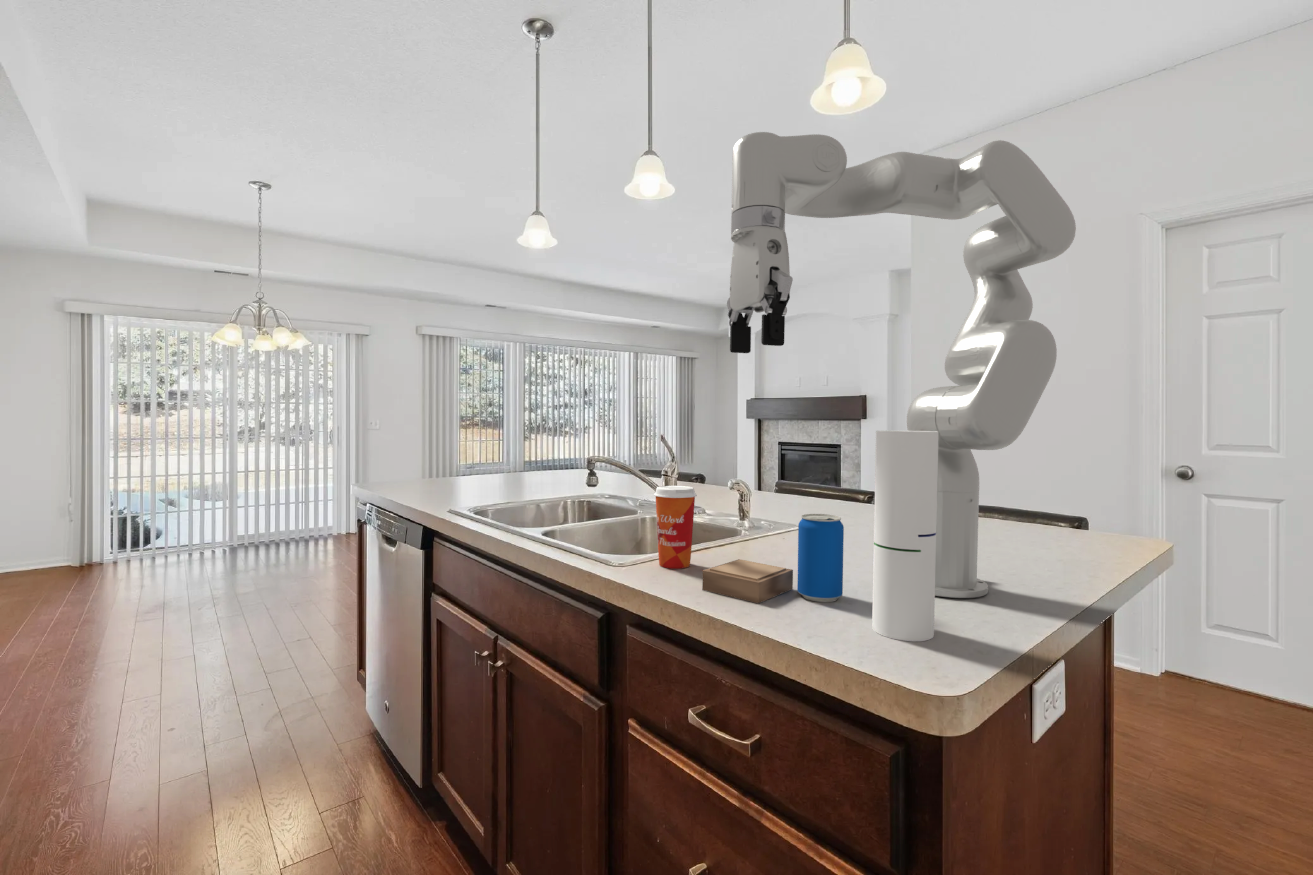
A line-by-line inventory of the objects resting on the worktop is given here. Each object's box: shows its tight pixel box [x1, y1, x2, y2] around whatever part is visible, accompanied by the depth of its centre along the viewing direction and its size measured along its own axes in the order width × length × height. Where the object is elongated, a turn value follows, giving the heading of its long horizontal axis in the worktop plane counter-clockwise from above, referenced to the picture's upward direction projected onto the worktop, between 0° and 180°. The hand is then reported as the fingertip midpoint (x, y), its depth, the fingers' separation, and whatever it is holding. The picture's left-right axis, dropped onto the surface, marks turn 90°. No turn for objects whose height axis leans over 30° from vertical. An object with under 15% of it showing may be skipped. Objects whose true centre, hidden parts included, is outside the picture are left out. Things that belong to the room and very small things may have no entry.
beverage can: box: [797, 513, 845, 603], centre depth 88 cm, size 6×6×12 cm
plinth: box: [701, 559, 794, 604], centre depth 92 cm, size 10×10×3 cm
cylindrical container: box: [871, 430, 938, 642], centre depth 74 cm, size 7×7×25 cm
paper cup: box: [653, 485, 697, 570], centre depth 106 cm, size 8×8×14 cm
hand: (755, 349), depth 85 cm, fingers open, 9 cm apart
